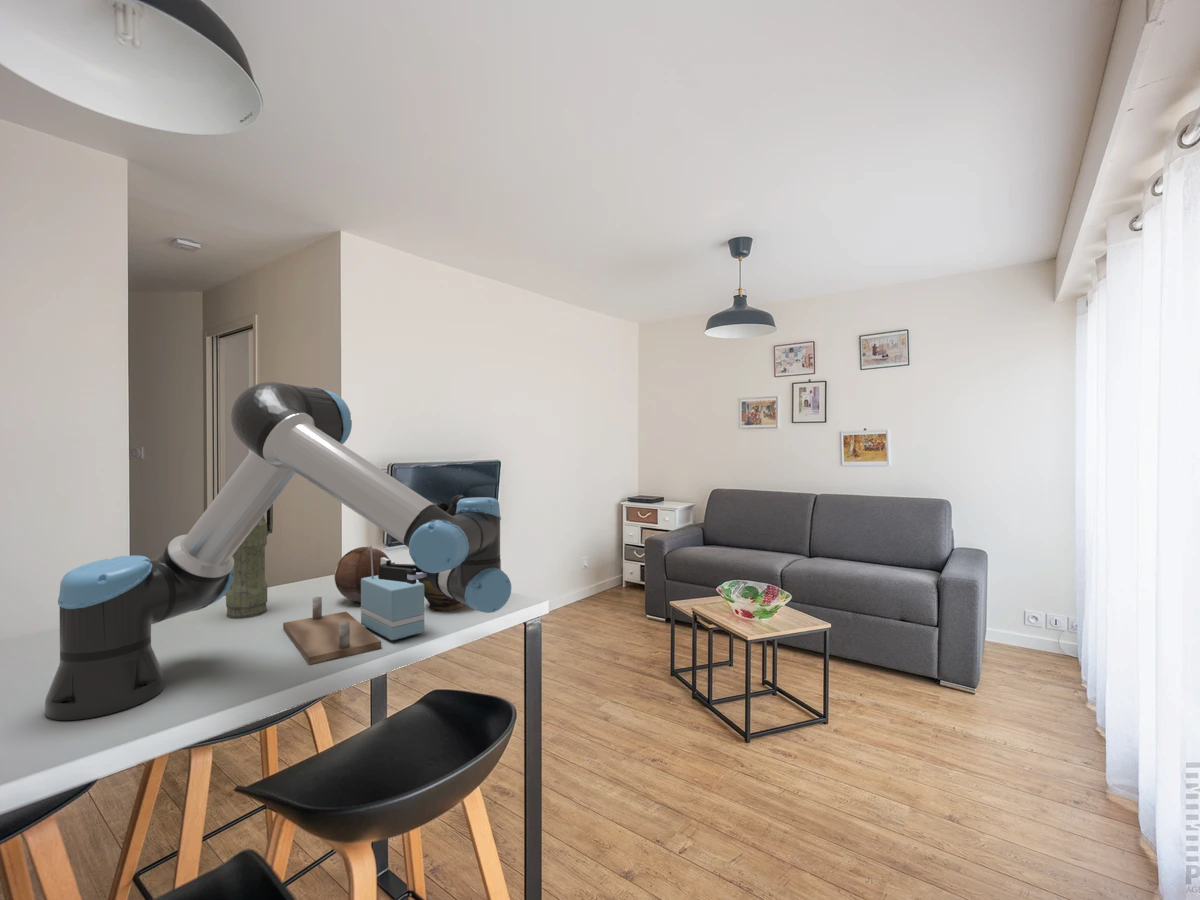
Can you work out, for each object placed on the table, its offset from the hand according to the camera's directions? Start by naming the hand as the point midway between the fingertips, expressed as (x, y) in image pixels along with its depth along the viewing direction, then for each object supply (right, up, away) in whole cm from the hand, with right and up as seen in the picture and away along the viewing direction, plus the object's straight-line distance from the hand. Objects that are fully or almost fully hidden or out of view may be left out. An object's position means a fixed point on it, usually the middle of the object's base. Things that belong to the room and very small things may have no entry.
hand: (414, 559), depth 121 cm
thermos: (-50, -18, +21) cm, 57 cm away
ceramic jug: (0, -18, +28) cm, 34 cm away
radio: (-7, -19, +8) cm, 21 cm away
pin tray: (-20, -18, +3) cm, 27 cm away
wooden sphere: (-25, -18, +32) cm, 45 cm away
